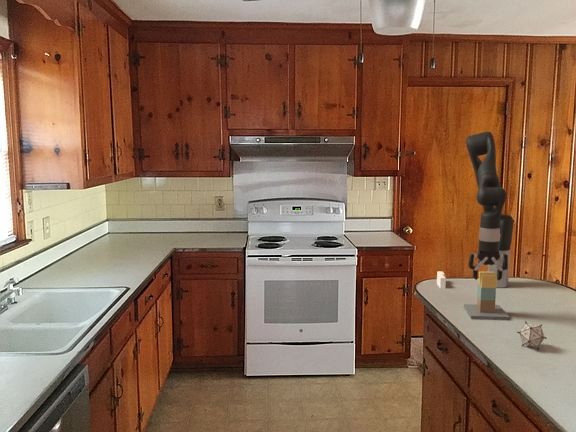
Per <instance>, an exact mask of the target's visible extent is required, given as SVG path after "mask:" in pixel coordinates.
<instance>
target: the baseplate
mask: <svg viewBox="0 0 576 432" xmlns="http://www.w3.org/2000/svg"><path fill="white" fill-rule="evenodd" d="M476 298H477V299H476V303H473V304H472V303H471V304H470V303H469V304H467V303H463V308H464V310H465V311H466V313H467V314H468V317H469V318H470V319H471V320H492V321H493V320H497V321H500V320H501V321H510V316H509V315H508V313H507V312H506V311H505V310H504V309H503V308H502V307H501V305H500V304H496V299H495V300H480V299H479V297H478V296H476Z"/></svg>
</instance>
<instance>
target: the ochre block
mask: <svg viewBox="0 0 576 432" xmlns="http://www.w3.org/2000/svg"><path fill="white" fill-rule="evenodd" d="M478 284H479V285H480V286H481V287H482V288H496V289H497V288H498V287H497V275H496V274H495V273H494V272H488V271H478V283H477V285H478Z"/></svg>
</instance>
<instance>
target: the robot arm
mask: <svg viewBox="0 0 576 432" xmlns="http://www.w3.org/2000/svg"><path fill="white" fill-rule="evenodd" d="M465 146H466V149H467V153H468V156H469V159H470V162H471V165H472V168H473V171H474V176H475V180H476V186H477V192H476V202H477V203H478V204H479V205H481V206H482V208H483V209H482V210H483V212H481V214H480V221H479V223H480V224H479V232H478V247H477V249H478V250H477V253H473V252H470V253H469V255H468V264H467V266H468V268H469V269H470V270H472V278H474V280H476V281H477V280H478V279H479V271H478V270H479V269H480V268H481V267H482V266H483V265H484V266H487V272H494V273H495V274H496V275H497V288H507V287H509V278H510V277H509V276H510V264H511V261H510V258H511V245H512V243H513V242H512V241H513V240H512V238H513V230H514V219H513V216H512V215H510V214H504V213H503V214H502V212H503V209H504V206H505V203H506V200H507V195H508V194H507V191H506V190H505V189H504V187H501V186H502V185H501V183H500V178H499V176H498V173H497V151H496V150H497V149H496V148H497V147H496V142H495V138H494V135H493V133H492V132H491V131H484V132H480V133H476V134H472V135H468V136H467V137H466V138H465ZM480 156H485V157H484V159H483V160H481V159H480ZM476 258H477V261H476V262H475V264H474V260H475V259H476Z"/></svg>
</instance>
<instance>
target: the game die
mask: <svg viewBox="0 0 576 432" xmlns="http://www.w3.org/2000/svg"><path fill="white" fill-rule="evenodd" d="M524 323H525V324H524V326H523V327H522V328H521V329H520V331H516V333H517V334H519V336H520V339H521V342H522V344H521V347H524V346H528V347H534V348H536V349H537V350H538V351H539V350H540V348H539V346H541V344H542V342H543V341H544V340H548V338H547V337H546V336H545V335H544V332H543V329H542V327H543V323H541V324H540V325H538V324H531V323H528V322H527V321H526V320H525V321H524Z"/></svg>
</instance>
